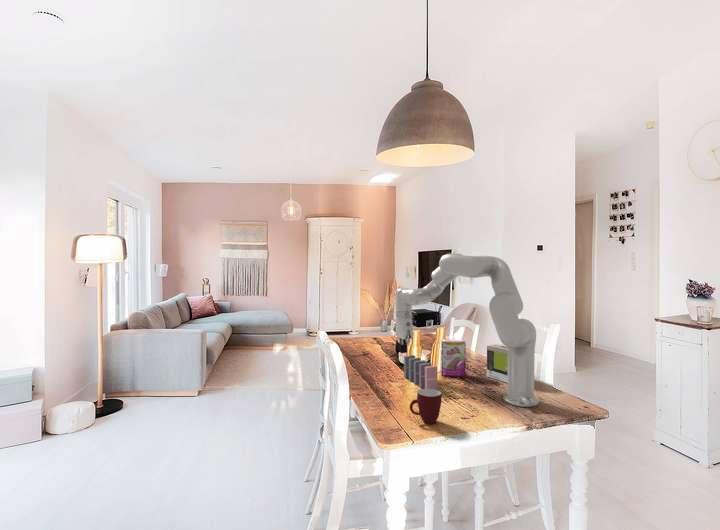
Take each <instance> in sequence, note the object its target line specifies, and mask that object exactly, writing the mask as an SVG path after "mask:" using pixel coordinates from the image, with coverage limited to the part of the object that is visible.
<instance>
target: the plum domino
mask: <svg viewBox="0 0 720 530" xmlns="http://www.w3.org/2000/svg"><path fill="white" fill-rule="evenodd" d="M424 389H435V390H438V366H437V365H431V366H428V367H425V388H424Z"/></svg>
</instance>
